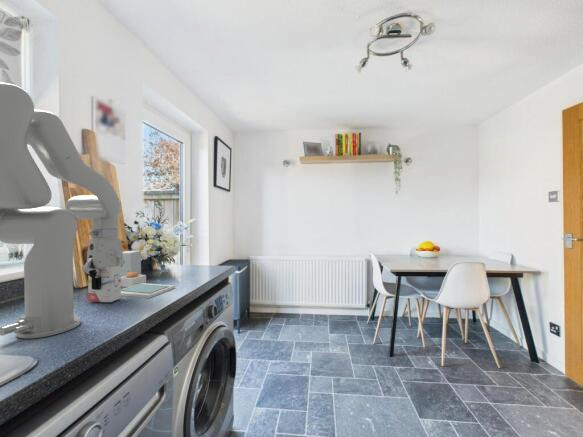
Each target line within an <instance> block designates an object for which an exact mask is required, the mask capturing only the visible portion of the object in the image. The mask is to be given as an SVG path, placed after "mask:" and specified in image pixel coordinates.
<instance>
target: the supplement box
mask: <svg viewBox="0 0 583 437" xmlns="http://www.w3.org/2000/svg"><path fill="white" fill-rule="evenodd" d="M141 253H142V252H141V250H125V251H123V260H124V261H125V263H124V265H123V266H122V267H121V277H123V276H127V273H129V272H138V275H142V263H141V262H142V258H141V257H142V256H141V255H142V254H141Z"/></svg>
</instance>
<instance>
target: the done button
mask: <svg viewBox="0 0 583 437" xmlns="http://www.w3.org/2000/svg"><path fill="white" fill-rule="evenodd" d="M134 277H138V272H129V273H127V278H134Z"/></svg>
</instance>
